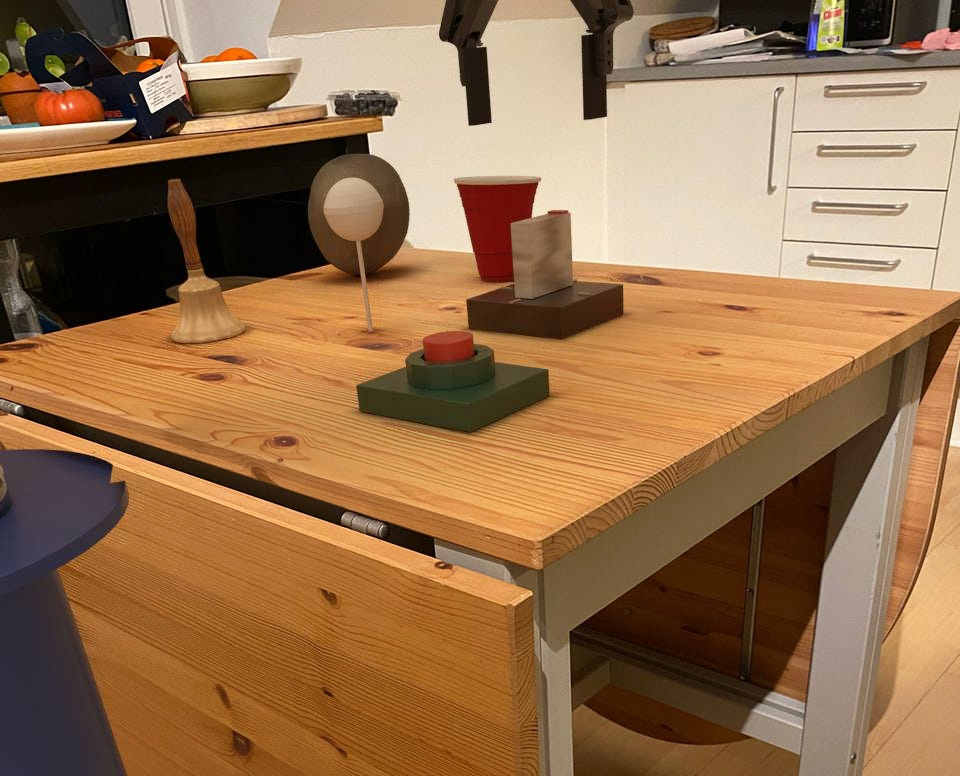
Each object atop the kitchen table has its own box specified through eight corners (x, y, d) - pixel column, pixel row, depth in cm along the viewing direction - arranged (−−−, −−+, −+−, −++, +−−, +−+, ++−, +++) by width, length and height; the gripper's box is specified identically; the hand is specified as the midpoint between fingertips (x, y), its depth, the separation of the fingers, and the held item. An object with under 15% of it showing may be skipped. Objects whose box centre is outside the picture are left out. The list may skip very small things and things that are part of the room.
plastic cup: (563, 274, 123) (559, 169, 117) (491, 289, 119) (483, 181, 113) (515, 265, 132) (509, 167, 126) (446, 279, 127) (437, 178, 121)
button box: (359, 411, 80) (351, 362, 78) (440, 379, 86) (435, 333, 84) (470, 432, 73) (465, 379, 71) (550, 395, 79) (547, 346, 77)
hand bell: (248, 336, 108) (216, 177, 100) (171, 347, 106) (133, 187, 98) (243, 321, 115) (213, 172, 107) (171, 332, 113) (135, 180, 105)
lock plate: (467, 329, 102) (464, 297, 101) (532, 305, 109) (531, 276, 108) (561, 339, 95) (560, 305, 93) (624, 313, 102) (624, 282, 101)
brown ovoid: (295, 283, 134) (274, 162, 127) (365, 263, 144) (350, 149, 136) (370, 288, 126) (353, 159, 119) (439, 267, 136) (427, 146, 128)
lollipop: (363, 340, 102) (341, 182, 94) (331, 334, 105) (307, 181, 98) (410, 327, 105) (391, 173, 97) (377, 321, 109) (357, 173, 101)
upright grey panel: (532, 299, 98) (527, 221, 94) (515, 297, 99) (510, 220, 95) (573, 284, 102) (570, 209, 99) (556, 283, 103) (553, 209, 100)
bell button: (414, 363, 78) (412, 340, 77) (447, 350, 80) (445, 329, 80) (452, 368, 76) (449, 345, 75) (485, 355, 78) (483, 333, 77)
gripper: (676, -194, 77) (671, 111, 88) (440, -133, 92) (461, 122, 102) (624, -205, 72) (626, 119, 83) (384, -139, 87) (412, 130, 98)
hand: (535, 122), depth 93 cm, fingers open, 13 cm apart
